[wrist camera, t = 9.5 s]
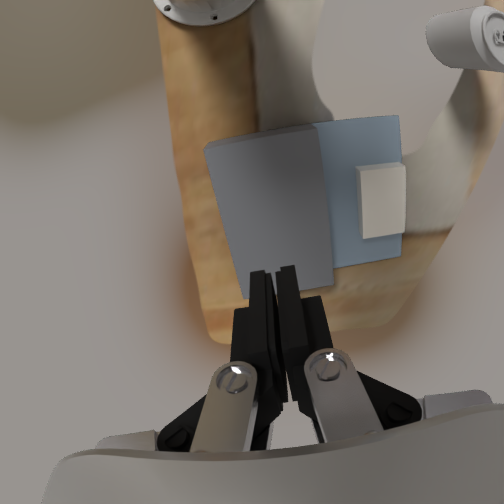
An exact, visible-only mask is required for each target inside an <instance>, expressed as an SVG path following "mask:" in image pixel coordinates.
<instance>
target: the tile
mask: <svg viewBox="0 0 504 504" xmlns="http://www.w3.org/2000/svg"><path fill="white" fill-rule="evenodd" d="M355 170H356V184H357V201H358V224H359V233H360V235H361V236H362V238H363V239H366V238H372V237H379V236H385V235H391V234H397V233H403V232H405V216H406V166H405V165H403V164H402V163H400V162H393V163H383V164H374V165H365V166H356V167H355Z"/></svg>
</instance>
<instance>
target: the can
mask: <svg viewBox="0 0 504 504" xmlns="http://www.w3.org/2000/svg"><path fill="white" fill-rule="evenodd" d="M426 38H427V43H428V45H429V47H430V50H431V52H432V53H433V54H434V56H435V57H436V58H437V59H438V60H439V61H440V62H441V63H442V64H444V65H446V66H448V67H450V68H463V69H476V70H486V71H495V72H503V73H504V13H503V12H501V11H498V10H496V9H494V8H493V7H489V6H486V5H484V6H478V7H473V8H467V9H462V10H457V11H452V12H447V13H443V14H439V15H435V16H433V17H432V18H431V19H430V20H429V22H428V24H427V26H426Z"/></svg>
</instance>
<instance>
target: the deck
mask: <svg viewBox="0 0 504 504" xmlns="http://www.w3.org/2000/svg"><path fill="white" fill-rule="evenodd" d="M203 150H204V154H205V158H206V162H207V166H208V170H209V173H210V177H211V181H212V185H213V189H214V192H215V196H216V200H217V204H218V208H219V211H220V215H221V219H222V223H223V226H224V230H225V234H226V237H227V241H228V245H229V248H230V252H231V256H232V259H233V263H234V267H235V270H236V274H237V277H238V281H239V285H240V288H241V292H242V295H243V299H249V289H250V272H253V271H259V270H265V272H266V273H271V275H272V280H273V285H274V290H275V294H277V287H276V276H275V272H277V271H281V270H280V267H283V266H289V265H295V270H296V275H297V281H298V286H299V291H300V290H306V289H312V288H318V287H324V286H329V285H334V276H333V262H332V249H331V237H330V226H329V216H328V206H327V197H326V188H325V180H324V172H323V164H322V157H321V149H320V142H319V136H318V129H317V128H316V127H315V126H313V125H312V124H305V125H298V126H292V127H285V128H279V129H273V130H268V131H262V132H257V133H251V134H246V135H241V136H236V137H231V138H227V139H222V140H218V141H213V142H209V143H208V144H207V145H206V147H205V148H204V149H203Z"/></svg>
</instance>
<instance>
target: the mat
mask: <svg viewBox="0 0 504 504" xmlns="http://www.w3.org/2000/svg"><path fill="white" fill-rule="evenodd" d="M312 125H313V126H315V127H316V128H317V129H318V136H319V142H320V149H321V157H322V164H323V172H324V180H325V188H326V197H327V206H328V216H329V226H330V237H331V249H332V262H333V269H334V268H339V267H345V266H351V265H356V264H362V263H367V262H372V261H378V260H383V259H389V258H394V257H399V256H401V244H402V233H397V234H391V235H385V236H379V237H372V238H366V239H363V238H362V236H361V235H360V233H359V224H358V201H357V184H356V170H355V167H356V166H365V165H374V164H383V163H393V162H400V163H402V154H401V139H400V125H399V116H398V115H393V116H379V117H367V118H355V119H346V120H336V121H328V122H320V123H312Z"/></svg>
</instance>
